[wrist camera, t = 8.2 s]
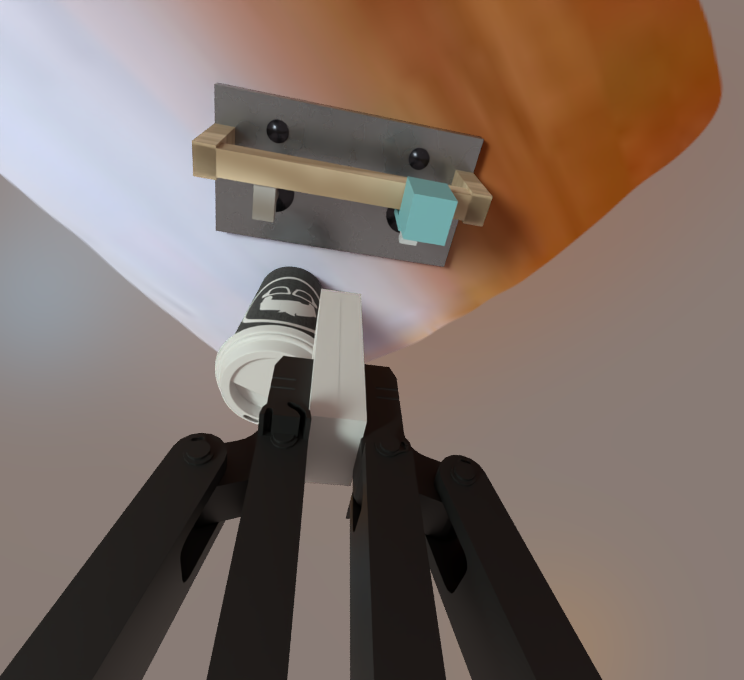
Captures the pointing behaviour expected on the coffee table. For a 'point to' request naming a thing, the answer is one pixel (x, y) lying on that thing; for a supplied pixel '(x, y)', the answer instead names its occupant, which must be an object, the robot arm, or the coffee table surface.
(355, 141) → the bolt plate
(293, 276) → the coffee cup
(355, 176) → the wooden rail
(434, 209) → the slider block
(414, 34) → the coffee table surface
